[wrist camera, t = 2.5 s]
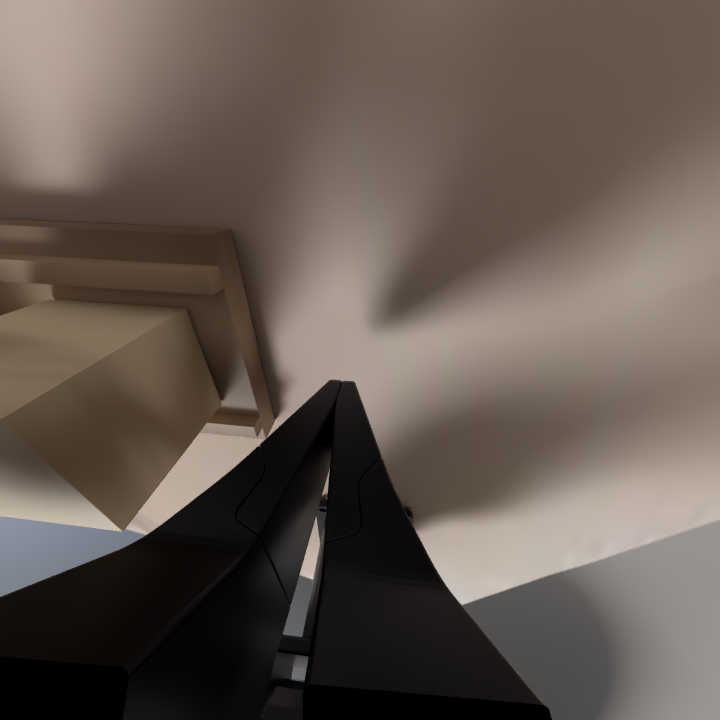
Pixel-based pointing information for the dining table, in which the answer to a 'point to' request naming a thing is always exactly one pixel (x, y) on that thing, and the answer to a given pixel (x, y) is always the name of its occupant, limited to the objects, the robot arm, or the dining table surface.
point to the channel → (149, 294)
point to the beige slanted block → (96, 408)
